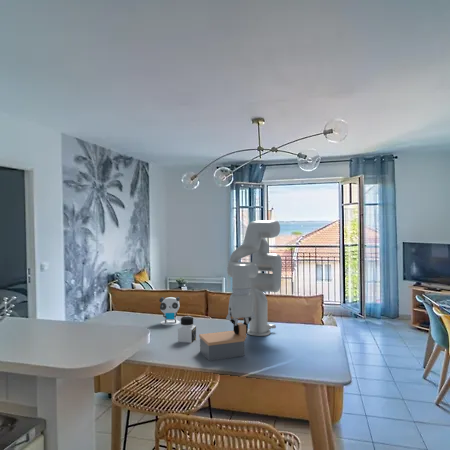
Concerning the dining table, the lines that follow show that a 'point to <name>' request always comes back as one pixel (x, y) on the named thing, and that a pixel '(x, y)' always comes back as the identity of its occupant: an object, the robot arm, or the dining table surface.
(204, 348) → the grey tray
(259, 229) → the robot arm
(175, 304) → the panda figurine
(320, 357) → the dining table surface
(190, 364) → the dining table surface
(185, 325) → the medicine bottle
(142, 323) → the dining table surface
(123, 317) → the dining table surface
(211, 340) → the lid
